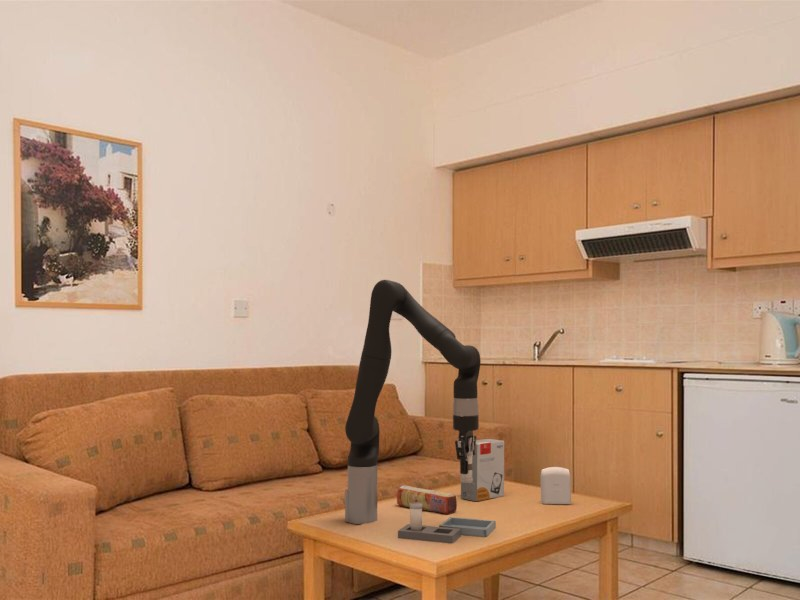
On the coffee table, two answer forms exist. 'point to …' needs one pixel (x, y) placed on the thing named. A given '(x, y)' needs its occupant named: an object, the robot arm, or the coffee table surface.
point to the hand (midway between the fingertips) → (466, 472)
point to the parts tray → (470, 526)
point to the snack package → (427, 499)
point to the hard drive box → (486, 471)
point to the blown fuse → (468, 477)
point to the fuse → (416, 516)
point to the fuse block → (430, 534)
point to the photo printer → (555, 486)
